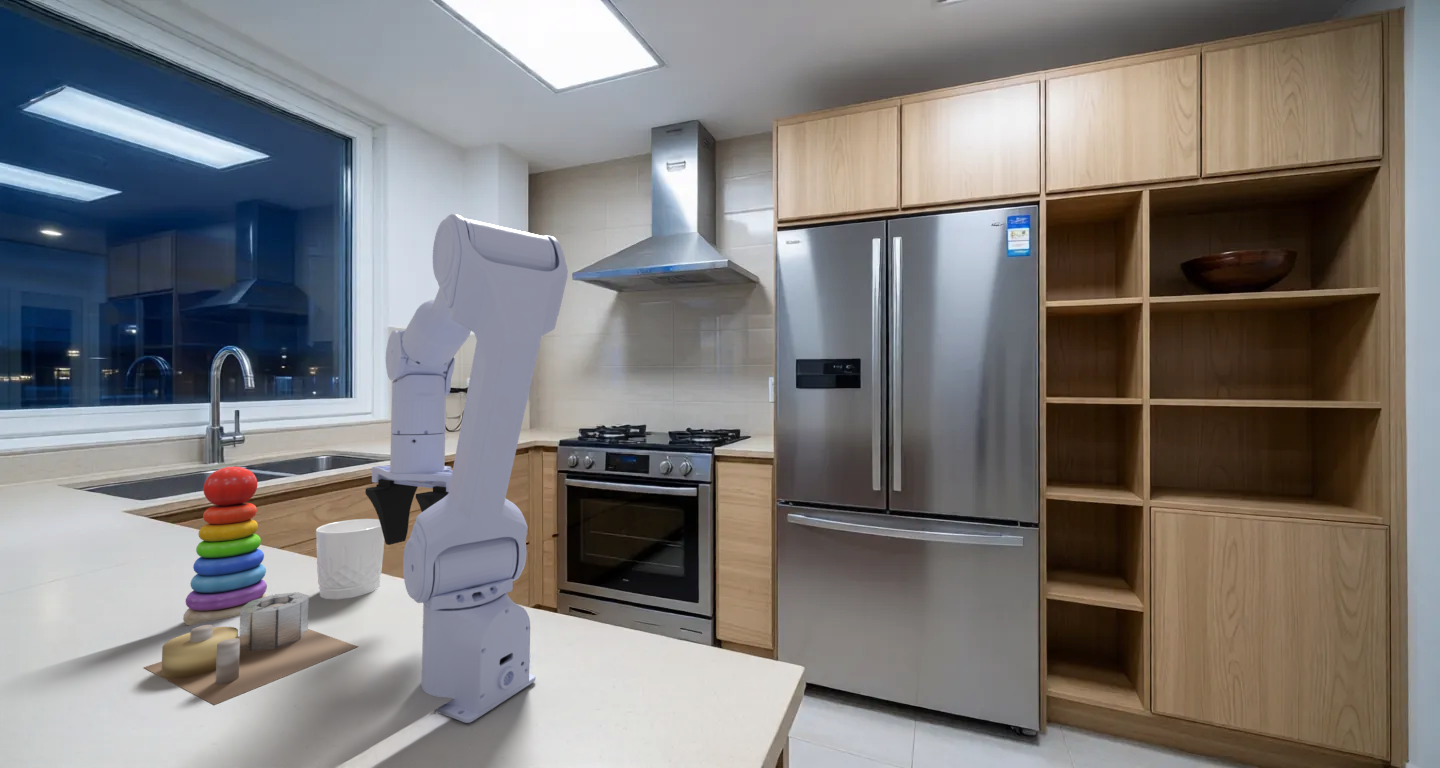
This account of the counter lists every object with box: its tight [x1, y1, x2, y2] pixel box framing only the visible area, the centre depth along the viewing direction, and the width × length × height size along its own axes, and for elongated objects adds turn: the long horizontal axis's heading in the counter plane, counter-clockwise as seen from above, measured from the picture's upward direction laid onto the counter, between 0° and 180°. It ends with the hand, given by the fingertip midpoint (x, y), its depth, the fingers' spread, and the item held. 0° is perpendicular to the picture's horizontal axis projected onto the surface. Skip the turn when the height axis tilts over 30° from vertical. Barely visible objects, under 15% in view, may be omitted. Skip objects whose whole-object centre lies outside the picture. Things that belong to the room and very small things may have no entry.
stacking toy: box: [182, 466, 268, 626], centre depth 67 cm, size 8×8×19 cm
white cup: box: [315, 518, 385, 600], centre depth 73 cm, size 8×8×10 cm
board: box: [143, 604, 359, 706], centre depth 55 cm, size 14×12×5 cm
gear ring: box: [238, 592, 309, 651], centre depth 59 cm, size 5×5×4 cm
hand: (416, 546), depth 64 cm, fingers open, 7 cm apart
